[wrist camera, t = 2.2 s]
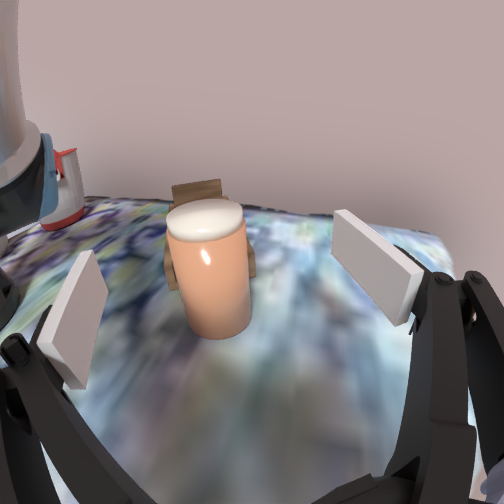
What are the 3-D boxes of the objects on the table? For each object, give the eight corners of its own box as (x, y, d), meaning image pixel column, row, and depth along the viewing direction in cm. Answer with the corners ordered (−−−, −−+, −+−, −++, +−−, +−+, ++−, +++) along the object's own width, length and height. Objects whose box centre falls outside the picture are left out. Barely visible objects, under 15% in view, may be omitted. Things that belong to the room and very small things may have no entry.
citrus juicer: (38, 245, 48) (13, 159, 38) (38, 224, 60) (20, 155, 50) (97, 220, 57) (78, 135, 46) (86, 204, 68) (72, 136, 58)
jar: (176, 331, 28) (148, 227, 22) (203, 291, 34) (187, 196, 28) (239, 345, 26) (226, 233, 20) (259, 300, 32) (254, 199, 26)
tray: (255, 276, 36) (252, 226, 32) (169, 290, 34) (157, 241, 30) (228, 212, 54) (225, 178, 51) (172, 221, 53) (166, 186, 49)
